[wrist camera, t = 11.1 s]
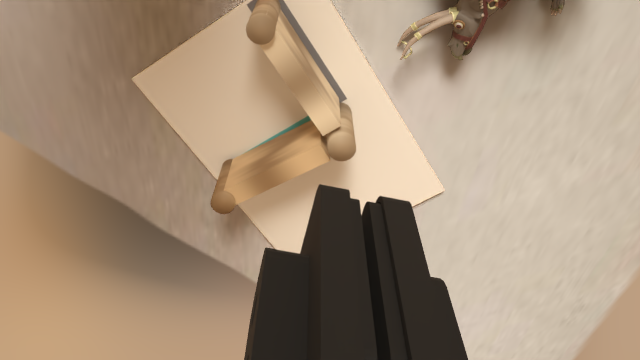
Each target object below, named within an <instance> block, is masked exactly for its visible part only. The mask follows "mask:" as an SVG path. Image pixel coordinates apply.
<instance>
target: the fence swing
mask: <svg viewBox="0 0 640 360" xmlns="http://www.w3.org/2000/svg"><path fill="white" fill-rule="evenodd" d="M329 161H330V155H329V153H328V146H327V134H326V135H324V136H322V134H321V133H320V131H319V130H318V128H317V127H316V126H315V124H314V123H313V121H312V120H310V121H308V122H306V123H304V124H302V125H300V126H298V127H296V128H294V129H292V130H290V131H288V132H286V133H284V134H282V135H280V136H278V137H276V138H274V139H272V140H270V141H268V142H266V143H264V144H262V145H260V146H258V147H256V148H254V149H252V150H250V151H248V152H246V153H244V154H242V155H240V156H238V157H236V158H234V159H228V160H226V161H225V162H224V163H223V164H222V168H221V171H220V174H219V177H218V180H217V183H216V186H215V190H214V193H213V196H212V199H211V207H212V208H213V210H215V211H216V212H218V213H221V214H227V213H230V212H231V211H232V210H233V209H234V207H235V205H237V204H239V203H241V202H243V201H246V200H248V199H250V198H252V197H254V196H256V195H258V194H261V193H263V192H265V191H267V190H269V189H271V188H273V187H275V186H278V185H280V184H282V183H284V182H286V181H288V180H290V179H292V178H295V177H297V176H299V175H301V174H303V173H305V172H307V171H309V170H312V169H314V168H316V167H318V166H320V165H322V164H324V163H327V162H329Z"/></svg>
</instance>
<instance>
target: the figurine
mask: <svg viewBox="0 0 640 360" xmlns="http://www.w3.org/2000/svg"><path fill="white" fill-rule="evenodd" d="M508 1H509V0H459V1H458V3H457V4H456V5H455V6H454V7H452V8H449V10H445V11H441V12H437V13H434V14H432V15H429V16H427V17H425V18H423V19H421V20H419V21H417V22H414V23H413V24H411V26H410V27H409V28H408V29H407V30H406V31H405V32H404V33H403V35H402V37H401V39H400V41H399V43H398V45H397V46H399V45H400V43H401V42H402V41H403V39H404V38H405V37H406V36H407V35H408V34H409V33H411V32H412V31H415V30H416V31H417V29H418V28H419V27H420V26H423V25H425V24H428V23H430V22H432V23H430V24H429V25H427V26H426V27H424V28H423V29H421V30H420V31H419V32H417V33H415V34H414V36H413V38H412V39H411V40H410V41H409V42H408V43H406V42H405V41H403V42H402V43H404V44H405V43H406V47H405V49H404V51H403V54H402V56H401V59H400V60H402V58H405V59H406V58H407V57H408V56H409V55H411V54H412V49H411V46H412V45H413V44H414V43H415V42H416V41H418V40H419V39H421V38H422V37H423V36H424V35H426V34H427V33H429V32H431V31H433V30H435V29H437V28H439V27H441V26H444V25H446V24H449V23H452V24H453V25H454V29H453V32H452V38H451V40H450V41H449V43H448V46H449V47H450V48H451V52H452V55H453V56H454V57H455V58H456V59H459V60H463V59H462V55H463V56H464V55H468V54H469V53H470V52H471V50H472V47H473V45H474V43H475V41H476V39H477V38H478V36H479V34H480V32H481V30H482V29H483V27H484V24H485V22H486V20H487V17H488V16H490V15H492V14H493V13H494V12H495V11H497V10H498V9H499V8H500V9H502V8H503V7H504V6H505V5H506V4H507V2H508ZM564 2H565V0H552V6H551V14H552V15H555V16H556V14H557V12H559V14H561V11H562V9H563V7H564ZM433 21H434V22H433ZM409 48H410V51H411V52H410V53H409V54H408V55H407V56H405V54H406V52H407V51H408V49H409Z"/></svg>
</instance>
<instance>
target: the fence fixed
mask: <svg viewBox="0 0 640 360" xmlns="http://www.w3.org/2000/svg"><path fill="white" fill-rule="evenodd" d="M246 33H247V36H248V38H249V39H250V40H251V41H252V42H253V43H255V44H259V45H260V47H261V48H262V50H263V51H264V52H265V54H266V55H267V57H268V58H269V60H270V61H271V63H272V64H273V65H274V67H275V68H276V70H277V71H278V73H279V74H280V75H281V77H282V78H283V80H284V81H285V83H286V84H287V85H288V87H289V88H290V90H291V91H292V93H293V94H294V95H295V97H296V98H297V100H298V101H299V103H300V104H301V105H302V107H303V108H304V110H305V111H306V113H307V114H308V116H309V117H310V118H311V120H312V121H313V123H314V124H315V126H316V127H317V128H318V130H319V131H320V133H321V134H322V136H324V135H326V134H327V146H328V153H329V155H330V157H331V158H333V159H334V160H336V161H347V160H349V159H351V158H352V157H353V156H354V154H355V152H356V143H355V134H354V126H353V118H352V111H351V109H350V107H349V106H348V105H347V104H345V103H342V102H341V103H339V97H338V96H337V94H336V93H335V91H334V90H333V88H332V87H331V85H330V84H329V82H328V81H327V79H326V78H325V76H324V75H323V73H322V72H321V70H320V68H319V67H318V65H317V64H316V62H315V61H314V59H313V58H312V56H311V55H310V53H309V52H308V50H307V49H306V47H305V46H304V44H303V43H302V41H301V39H300V38H299V36H298V35H297V33H296V32H295V30H294V29H293V27H292V26H291V24H290V23H289V21H288V20H287V18H286V17H285V15H284V14H283V12H282V10H281V5H280V2H279V1H278V0H257V2H256V5H255V7H254V9H253V11H252V14H251V16H250V18H249V21H248V23H247V25H246Z"/></svg>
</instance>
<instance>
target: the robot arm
mask: <svg viewBox="0 0 640 360" xmlns="http://www.w3.org/2000/svg"><path fill="white" fill-rule="evenodd" d="M244 360H468V358H467V354H466V351H465V347H464V344H463V341H462V337H461V334H460V330H459V327H458V324H457V320H456V317H455V314H454V310H453V307H452V303H451V300H450V297H449V293H448V290H447V287H446V285H445V283H444V281H443V280H441V279H440V278H434V277H430V274H429V270H428V266H427V262H426V258H425V255H424V251H423V247H422V243H421V239H420V236H419V232H418V228H417V224H416V220H415V217H414V213H413V209H412V205H411V203H410V202H409V201H405V200H399V199H394V198H389V197H384V196H379V197H378V199H377V200H376V203H374V202H368V201H367V202H366V204H365V206H364V209H363V212H362V215H361V208H360V201H359V200H358V199H353V198H350V191H349V190H348V189H342V188H337V187H332V186H327V185H322V184H319V186H318V188H317V191H316V195H315V198H314V202H313V206H312V210H311V214H310V217H309V221H308V225H307V229H306V233H305V237H304V240H303V244H302V248H301V252H300V254H299V253H293V252H288V251H282V250H276V249H271V248H265V251H264V255H263V259H262V264H261V268H260V273H259V277H258V282H257V287H256V292H255V297H254V302H253V308H252V314H251V319H250V325H249V332H248V339H247V345H246V352H245V359H244Z"/></svg>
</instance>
